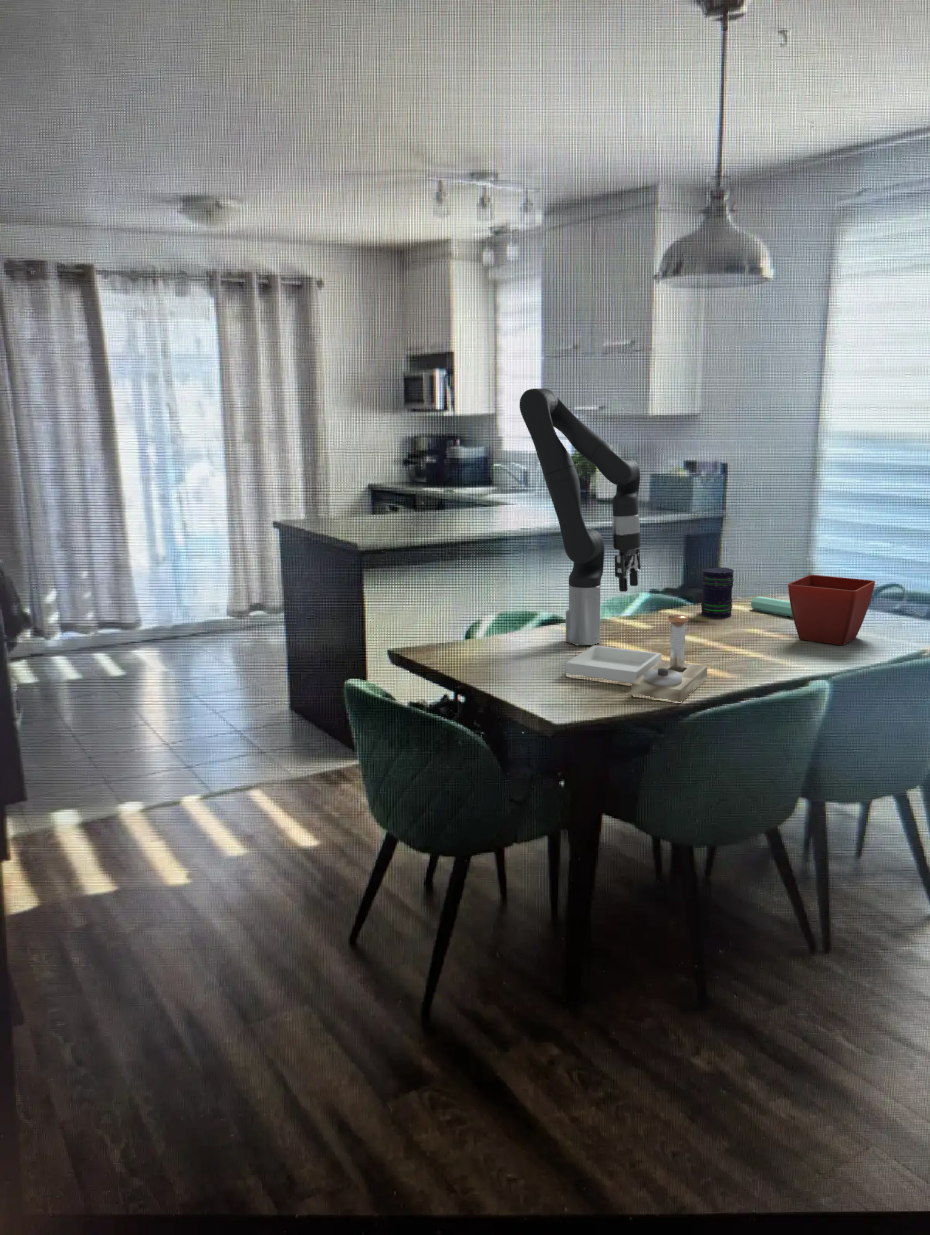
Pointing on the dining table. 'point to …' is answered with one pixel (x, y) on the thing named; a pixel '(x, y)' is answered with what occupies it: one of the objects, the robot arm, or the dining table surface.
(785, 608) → the mint green rod
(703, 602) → the storage jar
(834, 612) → the plant pot
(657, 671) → the wooden peg base
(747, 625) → the dining table surface
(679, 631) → the lock pin
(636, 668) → the tray
